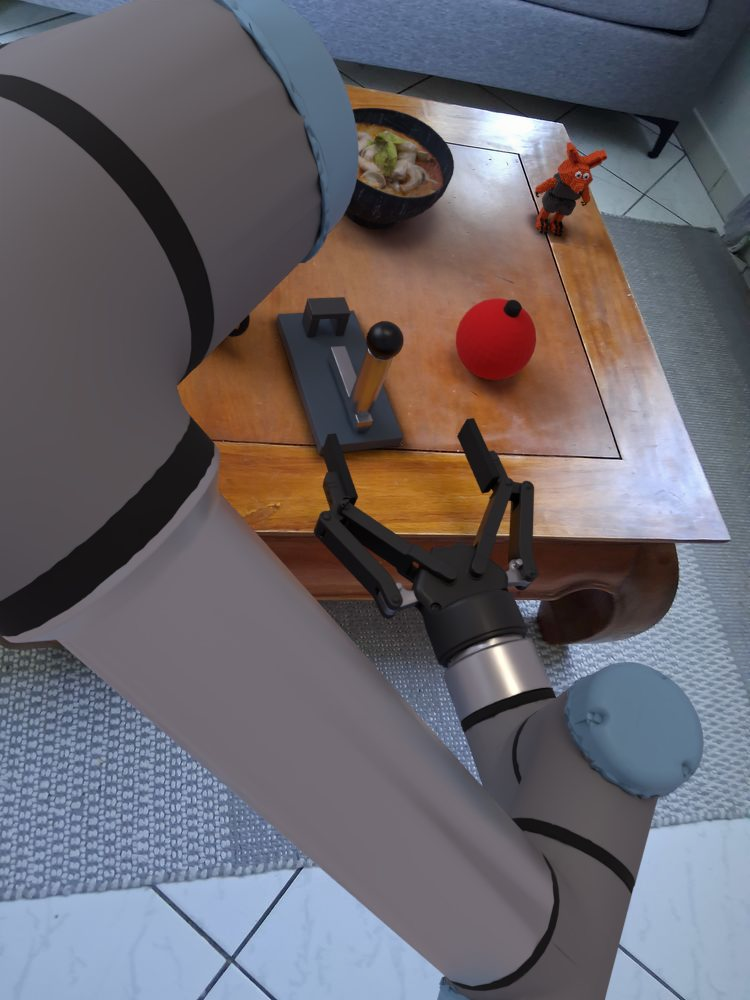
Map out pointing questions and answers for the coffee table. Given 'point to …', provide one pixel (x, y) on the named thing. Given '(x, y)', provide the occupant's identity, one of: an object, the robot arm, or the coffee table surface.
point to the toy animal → (566, 188)
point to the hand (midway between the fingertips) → (399, 434)
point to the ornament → (496, 338)
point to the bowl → (396, 168)
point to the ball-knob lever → (366, 371)
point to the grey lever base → (332, 374)
